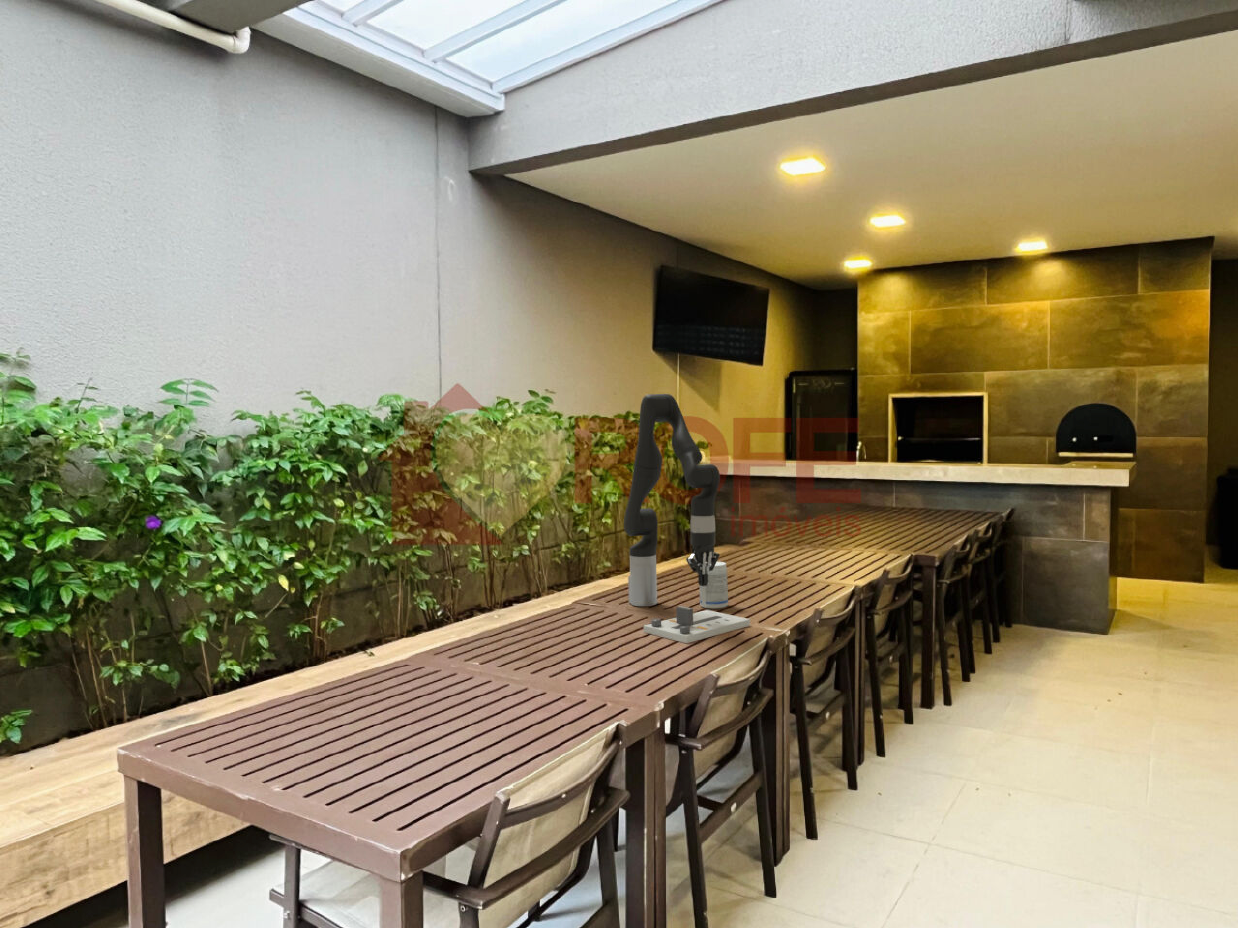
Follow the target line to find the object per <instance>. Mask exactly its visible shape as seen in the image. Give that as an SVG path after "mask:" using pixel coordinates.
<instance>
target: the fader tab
mask: <svg viewBox="0 0 1238 928" xmlns="http://www.w3.org/2000/svg"><path fill="white" fill-rule="evenodd" d="M675 610H676V613H675V615H676V618H677V624H681V625H685V626H692V625H693V613H694V608H691V607H687V606H683V605H679V606H676V609H675Z"/></svg>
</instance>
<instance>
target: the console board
mask: <svg viewBox="0 0 1238 928" xmlns="http://www.w3.org/2000/svg"><path fill="white" fill-rule="evenodd" d="M650 622H651V623H649V624H645V625H643V633H645V634H649V635H653V636H657V637H659V638H660V637H661V638H664V639H667V640H672V641H676V642H679V643H684V644H689V643H694V642H696V641H699V640H704V639H707V638H710V637H714V636H719V635H723V634H726V633H729V632H732V631H736V630H739V629H742V628H747V627H750V626H751V619H750V618H745V617H741V616H737V615H734V614H733V615H732V614H728V613H722V612H719V611H718V612H717V611H713V610H710V609H705V610H702V611H701V610H700V611H698V612H693V625H692V626H685V625H681V624H677V617H673V618H670V619H665V620H662V619H661V618H653V619H651V621H650Z"/></svg>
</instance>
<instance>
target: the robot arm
mask: <svg viewBox="0 0 1238 928" xmlns="http://www.w3.org/2000/svg"><path fill="white" fill-rule="evenodd" d="M665 422H666V423H668V424H669V425H670V427H671V428H672V437H671V447H672V451H673V452H674V454H675V456H676V457H677V459H678V461H679V462H680V464H681V467H682V472H683V477H684V480H685V481H684V482H685V483H686V484H687V485H688V486H689V487H691V488H693V489H701V488H702V490H701V492H700V493H699V494H696V495H694V496H693V497H691V501H690V502H691V503H690V512H691V513H690V524H689V525H690V526H689V527H690V545H691V547H692V549H691V555H690V556H689V557H688V556H687V557H686V559H685V561H686V563H687V564H688V566H689V568H690V569H691V571H692V572H693V573H696V574H697V576H698V577H697V578H698V585H700V586H707V583H708V573H709V571H712V570H713V568H714V566H715V564H716V562H718V560H719V558H720V553H718V552H716V551H715V548H714V547H715V545H716V520H715V500H716V496H717V493H718V489H719V485H720V481H721V477H720V476H721V474H720V470H719V469H718V467H717V466H716V465H715V464H712V463H711V464H710V463H709V464H708V463H706V464H700V463H701V462H702V460H703V454H702V451H701V450H700V449H699V447H698V445H697V444H696V442H695V440H694V439H693V438H692V436H691V432H689V429H688V427H687V424H686V422H685V419H684V417H683V414H682V412H681V409H680V406H679V405H678V402H677V400H676V398H675V397H674V396H673V395H672V394H669V393H656V394H655V393H653V394H646V395H644V396H643V398H642V400H641V403H640V411H639V426H638V438H637V446H636V452H635V458H634V464H633V469H632V479H631V487H630V491H629V497H628V501H627V504H626V509H625V513H624V518H623V528H624V529H623V530H624V532H625V534H626V535H628V536H629V537H641V536H642V538H641V539H640V540H639V541H638V542H636V543H634V544H633V545H630V547H629V550H628V551H629V576H628V577H627V579H628V580H627V581H628V584H627V585H628V587H627V588H628V604H630V605H631V606H635V607H652V606H655V605H657V604H658V587H657V584H658V583H657V548H658V547H657V546H658V515H657V513H656V512H655V510H654V509H653V508H651V507H648V508H647V507H646V508H642V505H643V503H644V501H645V499H646V498H647V496H648V495H649V494H650V492H652V490H653V489H654V487H656V485H657V484H658V481H659V480H660V477H661V472H662V467H663V457H662V454H661V451H660V449H659V446H658V445H657V443H656V441H655V436H654V430H655V424H656V423H665ZM706 562H707V563H706ZM710 565H711V566H710Z"/></svg>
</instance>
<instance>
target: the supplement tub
mask: <svg viewBox="0 0 1238 928" xmlns="http://www.w3.org/2000/svg"><path fill="white" fill-rule="evenodd" d="M706 563H707V562H706ZM710 566H711V565H710ZM698 585H699V584H698ZM728 588H729V587H728V569H727V563H726V562H725V561H717V562H716V564H715V566H714V568H713V570H712V571H709V573H708V583H707V586H700V585H699V588H698V589H699V605H700V606H701V607H702V608H704V609H710V610H711V609H712V610H717V609H724V608H726V607H727V606H728V605H729V597H728V596H729V595H728V594H729V593H728Z"/></svg>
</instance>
